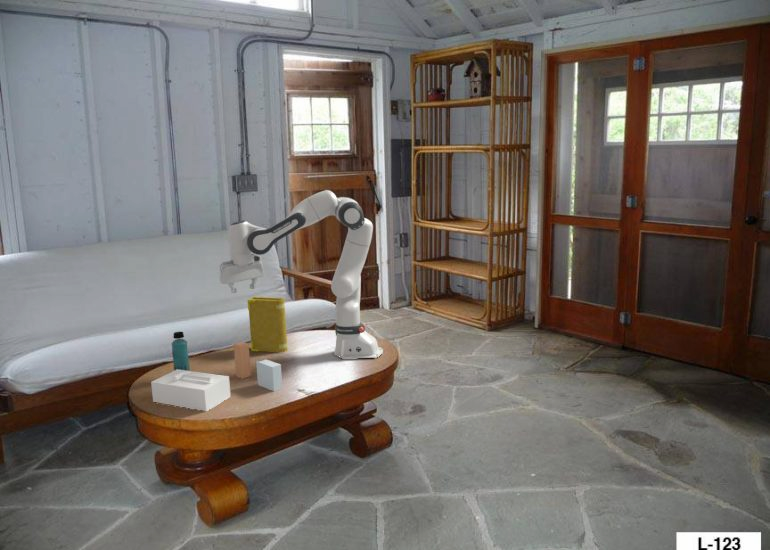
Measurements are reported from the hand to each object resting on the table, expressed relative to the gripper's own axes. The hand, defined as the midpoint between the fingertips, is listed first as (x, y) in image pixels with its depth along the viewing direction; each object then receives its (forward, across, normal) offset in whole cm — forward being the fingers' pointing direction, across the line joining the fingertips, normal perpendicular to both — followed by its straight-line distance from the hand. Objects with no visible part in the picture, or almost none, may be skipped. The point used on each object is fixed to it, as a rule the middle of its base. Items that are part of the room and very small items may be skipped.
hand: (243, 290), depth 265 cm
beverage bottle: (+34, -27, +10) cm, 45 cm away
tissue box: (+35, -36, -15) cm, 52 cm away
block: (+34, -9, -9) cm, 37 cm away
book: (+34, +19, +10) cm, 41 cm away
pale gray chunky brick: (+34, -9, -28) cm, 45 cm away
